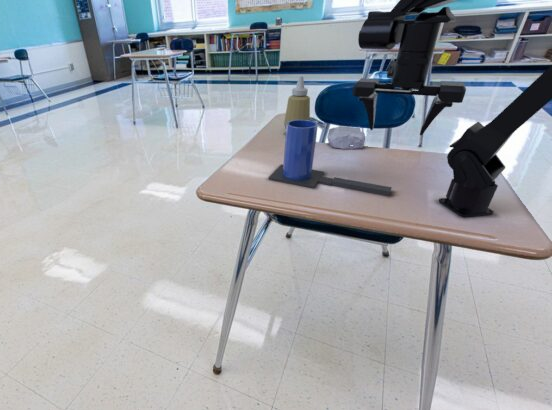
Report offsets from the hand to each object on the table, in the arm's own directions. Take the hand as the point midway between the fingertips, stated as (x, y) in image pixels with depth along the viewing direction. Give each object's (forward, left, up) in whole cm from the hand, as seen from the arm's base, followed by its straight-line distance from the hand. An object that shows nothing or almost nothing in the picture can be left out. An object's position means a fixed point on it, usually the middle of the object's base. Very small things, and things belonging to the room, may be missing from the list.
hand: (395, 132), depth 69 cm
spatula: (+3, +12, -12) cm, 17 cm away
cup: (+7, +18, -11) cm, 22 cm away
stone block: (+28, -4, -12) cm, 31 cm away
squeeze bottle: (+39, +7, -12) cm, 41 cm away
